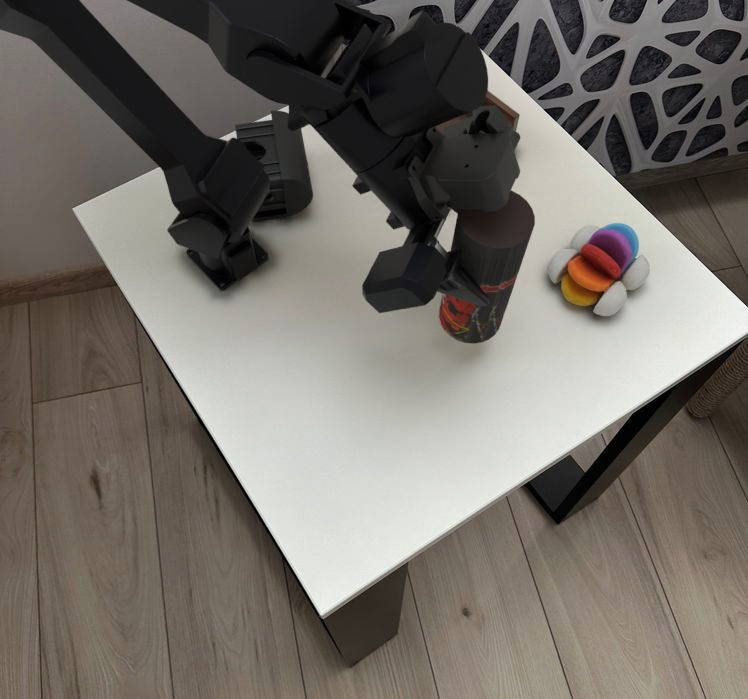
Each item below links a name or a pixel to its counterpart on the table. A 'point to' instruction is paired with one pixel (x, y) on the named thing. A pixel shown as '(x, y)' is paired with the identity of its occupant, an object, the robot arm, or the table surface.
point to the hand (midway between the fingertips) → (496, 276)
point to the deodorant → (487, 266)
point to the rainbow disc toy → (600, 267)
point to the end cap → (279, 165)
